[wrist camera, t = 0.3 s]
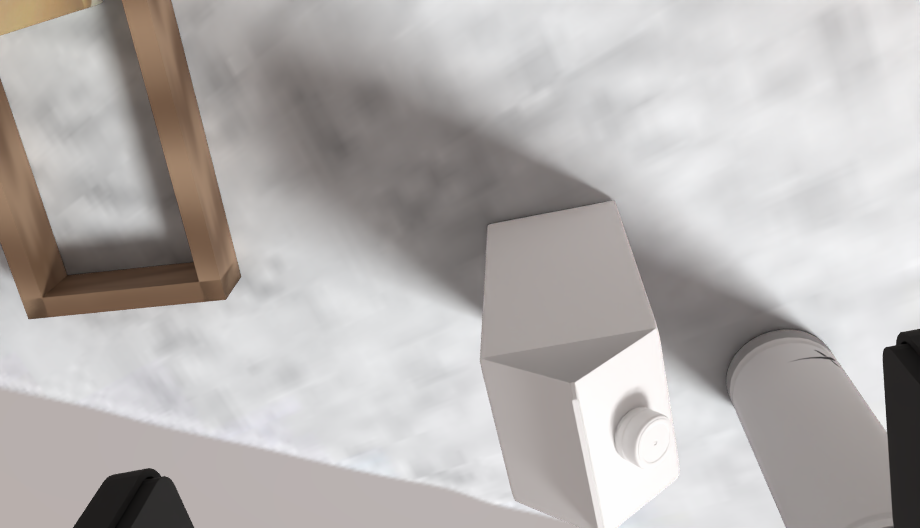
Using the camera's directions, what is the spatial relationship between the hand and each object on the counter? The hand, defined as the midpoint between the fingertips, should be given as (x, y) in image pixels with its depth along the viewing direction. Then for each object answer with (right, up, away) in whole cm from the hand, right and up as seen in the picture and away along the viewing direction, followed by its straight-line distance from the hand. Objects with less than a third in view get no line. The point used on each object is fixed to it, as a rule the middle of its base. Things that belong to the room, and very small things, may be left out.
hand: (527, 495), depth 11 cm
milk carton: (+5, +3, +38) cm, 38 cm away
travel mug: (+18, -3, +40) cm, 44 cm away
